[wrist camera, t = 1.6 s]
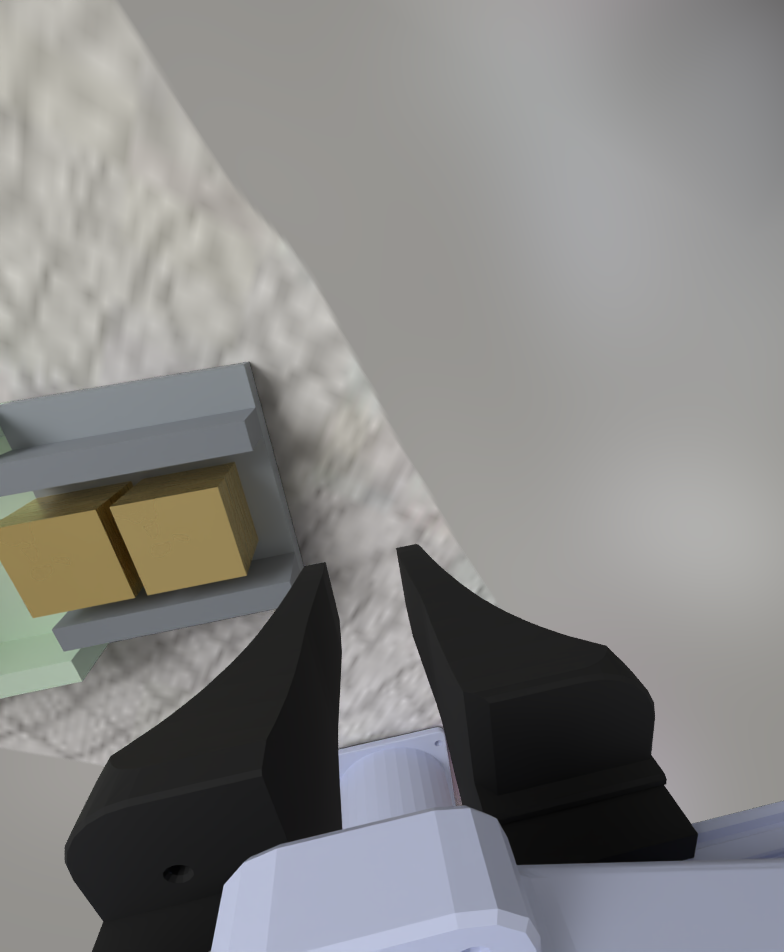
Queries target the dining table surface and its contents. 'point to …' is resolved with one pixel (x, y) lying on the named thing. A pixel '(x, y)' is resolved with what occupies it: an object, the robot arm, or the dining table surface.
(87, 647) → the green and grey tray
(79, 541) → the chip
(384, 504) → the dining table surface
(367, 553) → the dining table surface
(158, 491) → the chip
